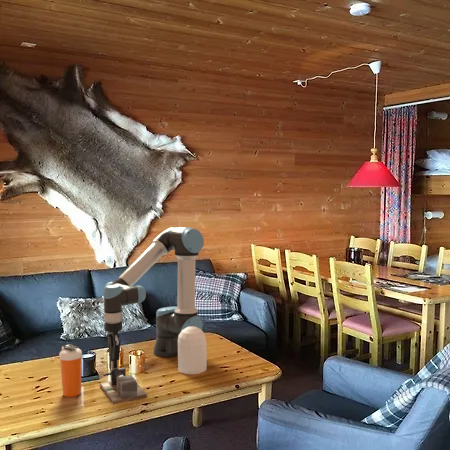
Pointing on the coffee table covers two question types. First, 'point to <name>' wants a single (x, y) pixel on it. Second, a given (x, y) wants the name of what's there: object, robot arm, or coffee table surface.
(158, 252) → the robot arm
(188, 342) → the container
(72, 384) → the shaker bottle
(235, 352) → the coffee table surface
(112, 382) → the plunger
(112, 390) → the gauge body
